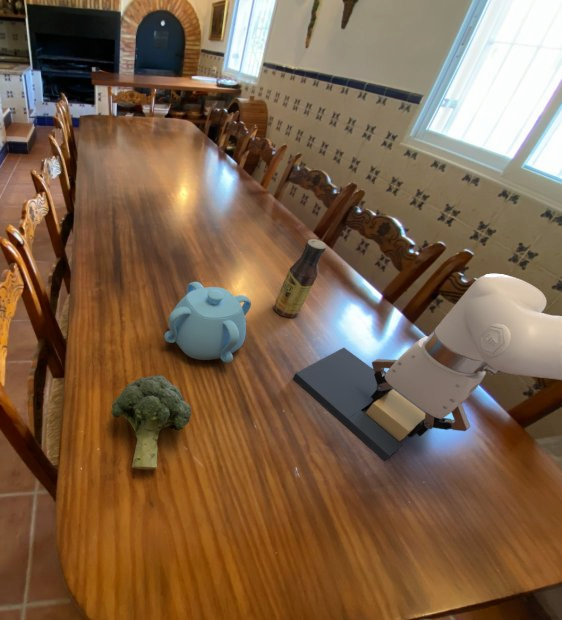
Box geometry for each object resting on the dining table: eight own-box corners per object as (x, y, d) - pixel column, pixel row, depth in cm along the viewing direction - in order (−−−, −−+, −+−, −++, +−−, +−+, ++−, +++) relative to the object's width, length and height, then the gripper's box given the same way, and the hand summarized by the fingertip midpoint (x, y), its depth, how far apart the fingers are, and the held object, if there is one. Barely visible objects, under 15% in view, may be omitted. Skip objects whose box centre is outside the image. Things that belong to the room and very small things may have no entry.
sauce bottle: (271, 301, 93) (298, 233, 80) (295, 305, 93) (326, 236, 80) (275, 317, 88) (304, 247, 75) (300, 321, 88) (335, 251, 75)
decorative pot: (224, 382, 72) (241, 333, 63) (154, 348, 77) (161, 299, 69) (248, 335, 83) (266, 288, 74) (186, 309, 88) (195, 262, 80)
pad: (418, 426, 65) (429, 416, 63) (399, 441, 62) (409, 431, 60) (384, 399, 69) (393, 389, 67) (364, 413, 67) (373, 402, 65)
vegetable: (87, 458, 55) (108, 365, 61) (140, 469, 63) (154, 386, 69) (147, 470, 47) (164, 362, 53) (198, 481, 55) (208, 386, 61)
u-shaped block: (432, 422, 68) (437, 416, 66) (384, 461, 61) (390, 455, 60) (340, 352, 80) (343, 347, 79) (292, 378, 74) (295, 372, 72)
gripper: (534, 382, 50) (453, 447, 62) (411, 310, 61) (362, 377, 73) (512, 403, 47) (431, 468, 59) (387, 323, 58) (339, 391, 70)
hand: (393, 417), depth 66 cm, fingers closed on pad, 6 cm apart
